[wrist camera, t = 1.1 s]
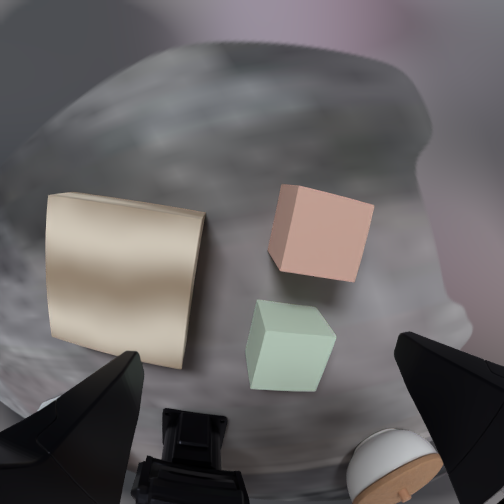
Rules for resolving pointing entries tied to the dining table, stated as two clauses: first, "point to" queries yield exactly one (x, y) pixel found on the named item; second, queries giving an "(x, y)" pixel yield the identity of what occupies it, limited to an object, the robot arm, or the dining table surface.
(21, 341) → the dining table surface
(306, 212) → the clay cube
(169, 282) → the birch block
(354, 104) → the dining table surface
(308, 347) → the sage cube
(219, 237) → the dining table surface
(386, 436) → the lidded bowl
